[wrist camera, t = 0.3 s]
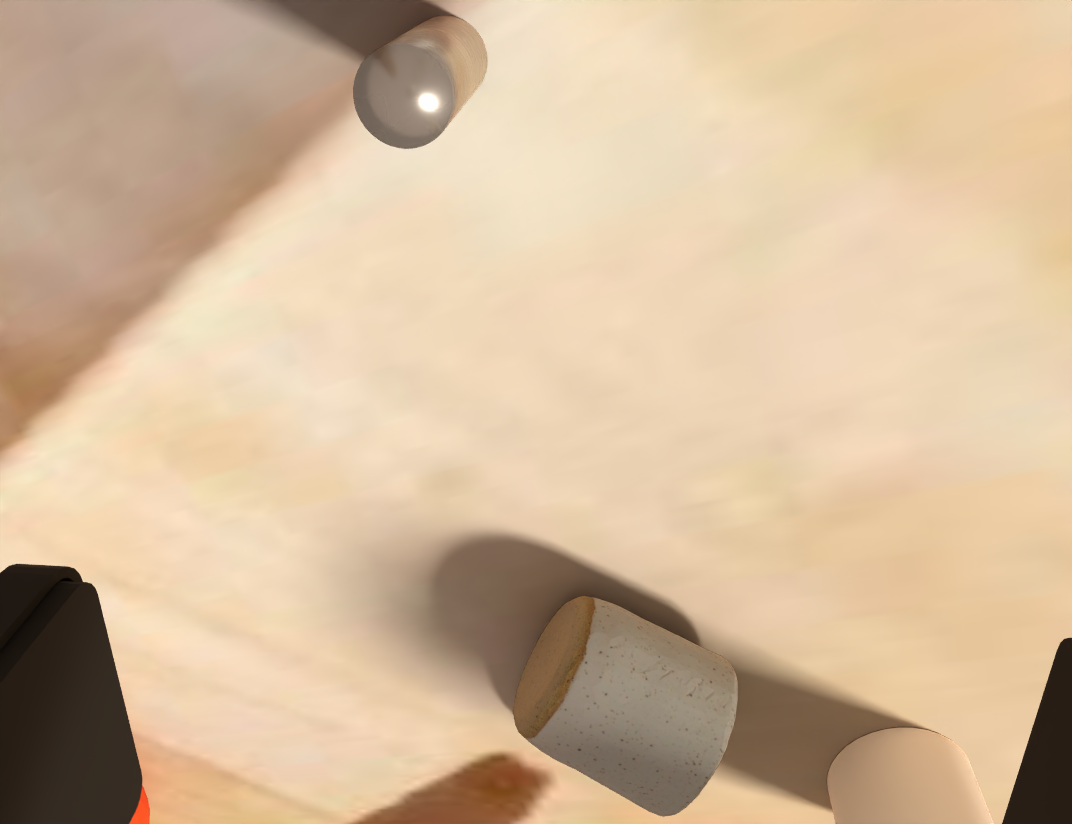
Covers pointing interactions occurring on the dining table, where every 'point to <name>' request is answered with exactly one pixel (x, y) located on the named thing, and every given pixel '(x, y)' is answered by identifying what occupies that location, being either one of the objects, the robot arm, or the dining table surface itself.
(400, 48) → the medium pin
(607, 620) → the ceramic mug
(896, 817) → the cylindrical container
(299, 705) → the dining table surface
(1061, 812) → the robot arm
